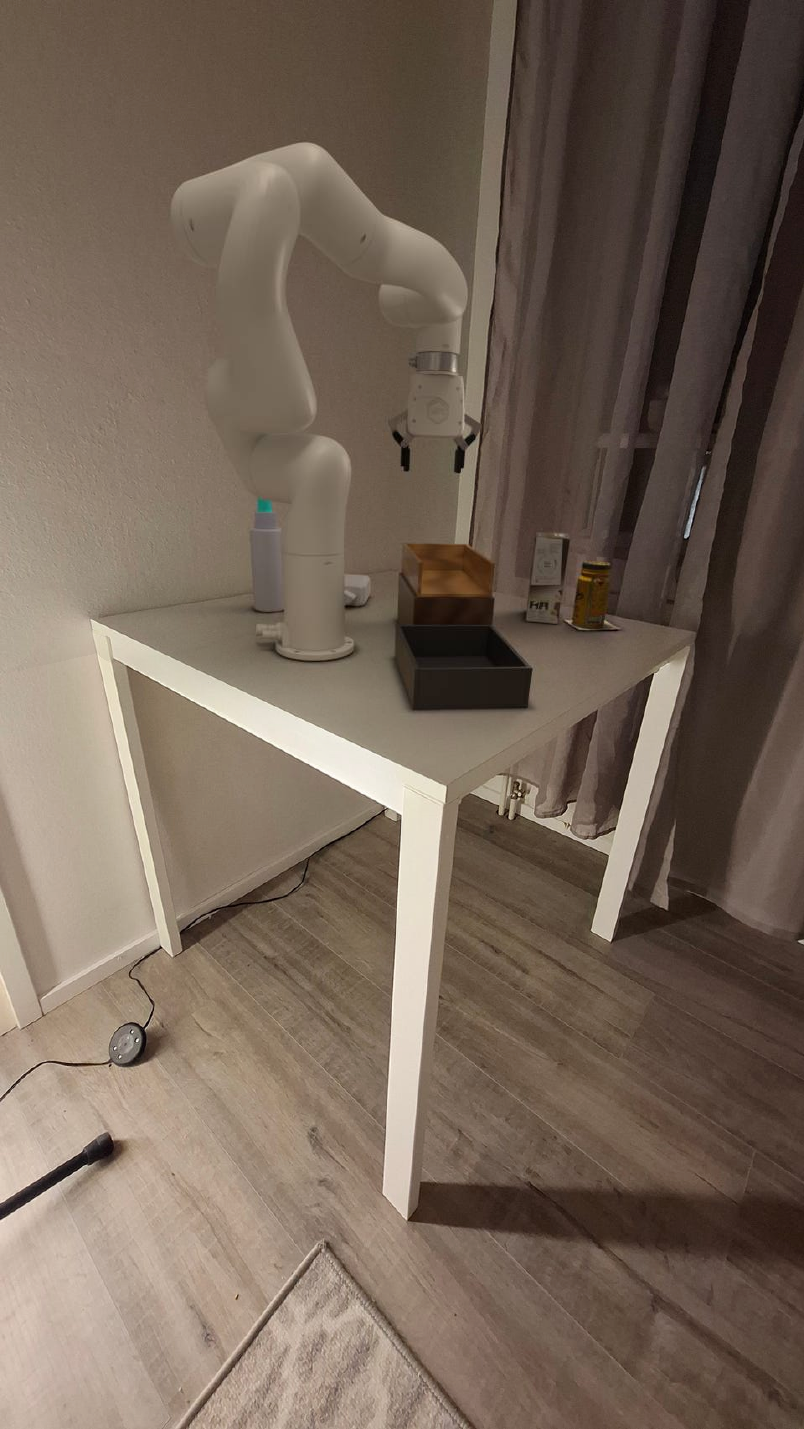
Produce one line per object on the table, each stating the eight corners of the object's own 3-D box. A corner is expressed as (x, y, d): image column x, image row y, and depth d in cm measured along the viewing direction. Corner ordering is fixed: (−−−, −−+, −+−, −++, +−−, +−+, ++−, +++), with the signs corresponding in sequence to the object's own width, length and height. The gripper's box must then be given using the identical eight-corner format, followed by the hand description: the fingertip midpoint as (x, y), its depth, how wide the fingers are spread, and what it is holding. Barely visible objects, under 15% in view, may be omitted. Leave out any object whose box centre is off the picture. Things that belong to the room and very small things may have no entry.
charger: (314, 612, 121) (328, 594, 135) (360, 614, 121) (370, 597, 134) (313, 588, 119) (328, 573, 133) (361, 590, 119) (370, 575, 132)
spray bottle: (291, 609, 122) (287, 492, 114) (268, 614, 118) (261, 493, 109) (271, 603, 126) (265, 489, 117) (247, 608, 121) (240, 490, 112)
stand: (411, 652, 100) (414, 597, 96) (397, 619, 118) (398, 572, 114) (489, 652, 101) (494, 598, 98) (463, 619, 119) (467, 573, 116)
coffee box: (558, 624, 119) (571, 538, 112) (525, 621, 120) (535, 536, 113) (557, 613, 127) (568, 532, 120) (525, 610, 128) (535, 530, 121)
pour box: (457, 567, 121) (459, 539, 119) (491, 597, 98) (495, 563, 95) (397, 566, 120) (398, 537, 118) (417, 597, 96) (418, 562, 94)
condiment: (563, 620, 122) (572, 559, 117) (603, 620, 123) (614, 559, 118) (579, 631, 115) (589, 566, 110) (621, 630, 116) (632, 566, 112)
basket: (412, 709, 78) (414, 669, 76) (394, 658, 97) (395, 624, 94) (527, 707, 80) (532, 668, 78) (488, 657, 99) (492, 624, 96)
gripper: (390, 361, 103) (387, 471, 110) (490, 367, 105) (482, 474, 112) (385, 366, 110) (383, 469, 117) (480, 371, 112) (472, 472, 119)
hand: (431, 472), depth 114 cm, fingers open, 9 cm apart
